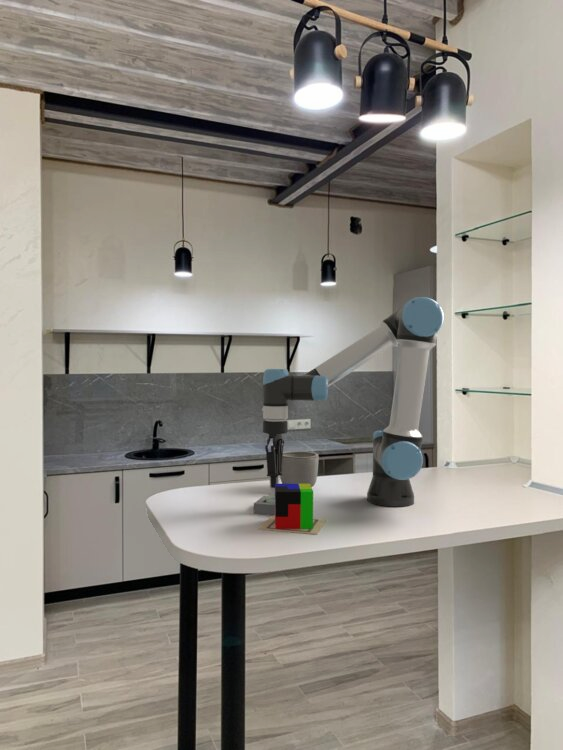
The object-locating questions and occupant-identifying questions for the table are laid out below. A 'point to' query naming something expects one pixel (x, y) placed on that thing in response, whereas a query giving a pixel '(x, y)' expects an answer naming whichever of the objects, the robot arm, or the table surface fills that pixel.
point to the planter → (299, 467)
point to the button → (270, 500)
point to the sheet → (270, 525)
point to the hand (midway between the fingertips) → (274, 497)
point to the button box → (264, 507)
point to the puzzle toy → (293, 506)
